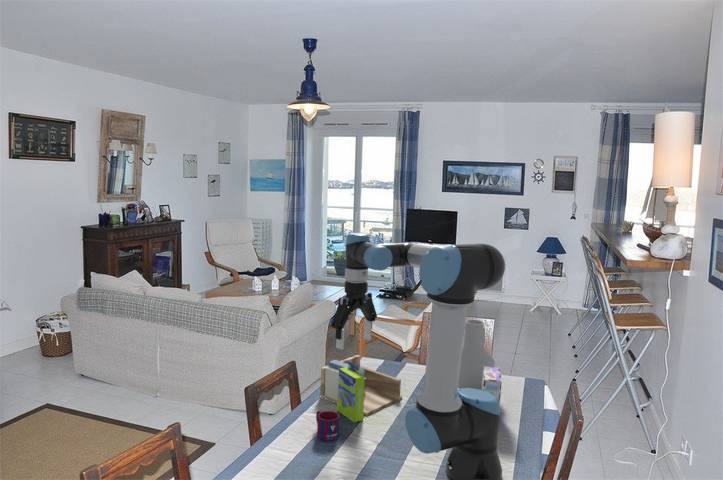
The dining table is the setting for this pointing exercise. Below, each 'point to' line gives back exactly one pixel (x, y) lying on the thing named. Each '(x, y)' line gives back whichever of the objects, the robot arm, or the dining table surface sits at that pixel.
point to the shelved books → (333, 378)
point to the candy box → (492, 381)
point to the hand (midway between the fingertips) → (353, 344)
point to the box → (351, 392)
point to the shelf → (371, 387)
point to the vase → (473, 356)
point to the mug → (327, 425)
